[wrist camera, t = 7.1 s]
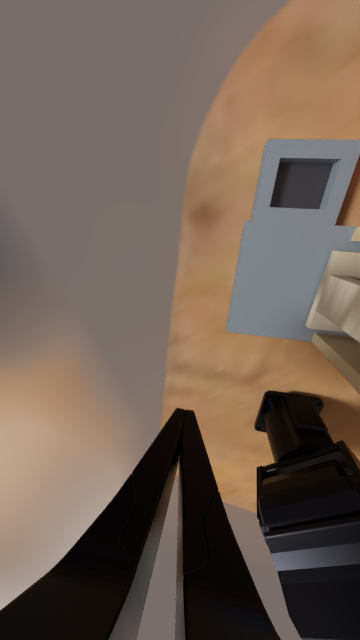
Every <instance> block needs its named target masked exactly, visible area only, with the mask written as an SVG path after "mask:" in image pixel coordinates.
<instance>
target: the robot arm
mask: <svg viewBox="0 0 360 640" xmlns="http://www.w3.org/2000/svg"><path fill="white" fill-rule="evenodd" d="M323 406H324V403H323V401H322V400H321V399H319V398H312V397H305V396H298V395H291V394H284V393H277V392H270V391H268V392H265V394H264V397H263V400H262V403H261V406H260V409H259V412H258V415H257V419H256V422H255V425H254V426H255V430H257V431H261V432H267V436H268V439H269V443H270V447H271V450H272V454H273V457H274V461H275V463H273V464H270V465H266V466H263V467H262V466H260V467H257V518H258V522H259V524H260V527H261V530H262V533H263V536H264V539H265V541H266V543H267V545H268V547H269V549H270V552H271V554H272V557H273V560H274V563H275V566H276V569H277V572H278V576H279V579H280V583H281V586H282V591H283V594H284V598H285V602H286V606H287V609H288V613H289V616H290V618H291V620H292V622H293V624H294V626H295V628H296V630H297V631H298V633H299V635H300V637H301V639H302V640H360V461H359V460H358V458H357V457H356V456H355V455H354V453H353V452H352V451H351V450H350V449H349V447H348V446H347V445H346V444H345V442H344V441H343V440H341V441H338V442H337V443H336V444H334V442H333V440H332V439H331V437H330V435H329V433H328V432H327V431H328V429H327V427H326V425H325V424H324V422H323V420H322V419H321V417H320V415H319V414H320V412H321V410H322V408H323ZM179 457H180V458H179ZM178 462H179V487H178V489H179V490H178V531H177V532H178V533H177V535H178V536H177V576H176V577H177V578H176V623H175V640H281V639H280V638H279V636H278V634H277V632H276V631H275V628H274V626H273V624H272V622H271V620H270V618H269V616H268V614H267V612H266V610H265V608H264V605H263V603H262V601H261V598H260V596H259V594H258V592H257V589H256V587H255V585H254V582H253V579H252V577H251V575H250V572H249V570H248V567H247V565H246V563H245V560H244V558H243V555H242V553H241V551H240V548H239V546H238V543H237V541H236V538H235V536H234V533H233V531H232V528H231V525H230V523H229V520H228V518H227V514H226V511H225V508H224V506H223V502H222V499H221V496H220V493H219V491H218V487H217V484H216V480H215V477H214V474H213V471H212V467H211V464H210V461H209V458H208V455H207V451H206V448H205V445H204V442H203V439H202V435H201V432H200V429H199V426H198V423H197V419H196V416H195V413H194V411H193V410H184V409H180V408H177V409H175V411H174V412H173V414H172V415H171V417H170V418H169V420H168V421H167V422H166V424H165V425H164V427H163V428H162V430H161V431H160V433H159V434H158V435H157V437H156V438H155V440H154V441H153V443H152V444H151V446H150V447H149V449H148V450H147V451H146V453H145V454H144V456H143V458H142V459H141V460H140V462H139V463H138V464H137V466H136V467H135V469H134V470H133V472H132V474H130V476H129V477H128V479H127V480H126V482H125V483H124V484H123V486H122V487H121V489H120V490H119V491H118V493H117V494H116V495H115V497H114V498H113V499H112V501H111V502H110V503H109V504H108V505H107V507H106V508H105V509H104V510H103V512H102V513H101V514H100V515H99V516H98V517H97V519H96V520H95V521H94V522H93V523H92V525H91V526H90V527H89V528H88V529H87V531H86V532H85V533H84V534H83V535H82V536H81V537H80V539H79V540H78V541H77V542H76V544H75V545H74V546H73V547H72V548H71V549H70V550H69V551H68V553H67V554H66V555H65V556H64V557H63V558H62V559H61V560H60V561H59V562H58V563H57V564H56V565H55V566H54V567H53V568H52V569H51V570H50V571H49V572H48V573H46V574H45V575H44V576H43V577H42V578H40V579H39V580H38V581H37V582H35V583H34V584H33V585H32V586H30V587H29V588H28V589H27V590H25V591H24V592H23V593H22V594H20V595H19V596H18V597H17V598H15V599H14V600H13V601H12V602H10V603H9V604H8V605H6V606H5V607H4V608H3V609H2V610H0V640H136V639H137V634H138V630H139V626H140V622H141V617H142V611H143V609H144V605H145V601H146V596H147V592H148V588H149V584H150V580H151V576H152V572H153V567H154V563H155V559H156V555H157V551H158V547H159V542H160V538H161V534H162V530H163V526H164V521H165V517H166V513H167V509H168V505H169V501H170V496H171V492H172V488H173V484H174V480H175V475H176V471H177V467H178Z"/></svg>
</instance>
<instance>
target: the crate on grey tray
mask: <svg viewBox="0 0 360 640" xmlns="http://www.w3.org/2000/svg"><path fill="white" fill-rule="evenodd" d="M359 155H360V140H323V139H269V140H268V141H267V143H266V144H265V146H264V151H263V157H262V162H261V168H260V173H259V178H258V184H257V189H256V195H255V200H254V205H253V211H252V216H251V221H245V222H244V227H243V233H242V238H241V244H240V250H239V256H238V262H237V267H236V273H235V279H234V285H233V291H232V296H231V302H230V308H229V314H228V320H227V325H226V328H227V332H233V333H242V334H250V335H259V336H268V337H277V338H286V339H294V340H303V341H311V342H312V343H313V344H314V345H315V346H316V347H317V348H318V349H319V350H320V351H321V353H322V354H323V355H324V356H325V357H326V358H327V359H328V360H329V361H330V362H331V363H332V364H333V365H334V367H335V368H336V369H337V370H338V371H339V372H340V373H341V374H342V375H343V376H344V377H345V378H346V380H347V381H348V382H349V383H350V384H351V385H352V386H353V387H354V388H355V389H356V390H357V391H358V393H359V394H360V343H359V342H358V341H357V340H355V339H354V338H353V337H351V336H350V335H349V334H347V333H346V332H337V331H327V330H318V329H309V328H308V327H307V326H306V322H307V319H308V316H309V314H310V311H311V308H312V305H313V303H314V300H315V297H316V294H317V292H318V289H319V286H320V283H321V281H322V278H323V275H324V272H325V270H326V267H327V264H328V261H329V259H330V256H331V253H332V250H333V251H349V252H360V226H357V227H356V226H337V225H335V223H336V221H337V218H338V215H339V212H340V209H341V206H342V203H343V201H344V198H345V195H346V192H347V189H348V186H349V183H350V181H351V178H352V175H353V172H354V169H355V166H356V163H357V161H358V158H359Z"/></svg>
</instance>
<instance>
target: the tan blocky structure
mask: <svg viewBox="0 0 360 640" xmlns="http://www.w3.org/2000/svg"><path fill="white" fill-rule="evenodd" d="M306 326H307V327H308V328H309V329H318V330H327V331H337V332H346V333H347V334H349V335H350V336H351V337H353V338H354V339H355V340H357V341H358V342H359V343H360V252H349V251H333V250H332V253H331V256H330V259H329V261H328V264H327V267H326V270H325V272H324V275H323V278H322V281H321V283H320V286H319V289H318V292H317V294H316V297H315V300H314V303H313V305H312V308H311V311H310V314H309V316H308V319H307V322H306Z"/></svg>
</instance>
